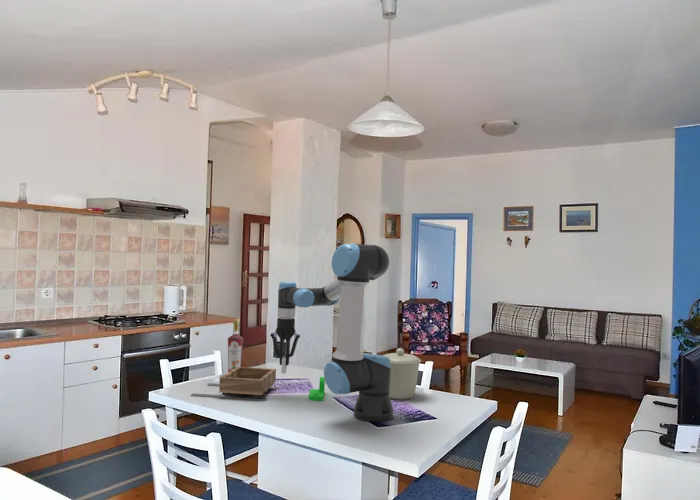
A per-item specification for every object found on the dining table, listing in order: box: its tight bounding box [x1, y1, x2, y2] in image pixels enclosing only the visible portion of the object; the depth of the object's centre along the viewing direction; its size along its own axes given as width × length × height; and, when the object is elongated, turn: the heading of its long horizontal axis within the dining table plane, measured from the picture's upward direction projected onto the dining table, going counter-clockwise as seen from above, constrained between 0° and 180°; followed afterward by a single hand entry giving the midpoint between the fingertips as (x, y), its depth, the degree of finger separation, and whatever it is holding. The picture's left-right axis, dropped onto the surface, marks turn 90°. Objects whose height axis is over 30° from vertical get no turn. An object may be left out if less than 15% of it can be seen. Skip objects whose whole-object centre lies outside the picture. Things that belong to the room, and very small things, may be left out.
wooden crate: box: [218, 366, 277, 398], centre depth 225 cm, size 22×18×8 cm
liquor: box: [227, 318, 244, 373], centre depth 252 cm, size 7×7×28 cm
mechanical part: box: [308, 376, 326, 402], centre depth 222 cm, size 12×6×8 cm, turn 0°
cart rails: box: [190, 382, 279, 402], centre depth 225 cm, size 20×32×1 cm, turn 84°
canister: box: [382, 347, 422, 401], centre depth 226 cm, size 18×18×21 cm
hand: (283, 372), depth 223 cm, fingers closed
